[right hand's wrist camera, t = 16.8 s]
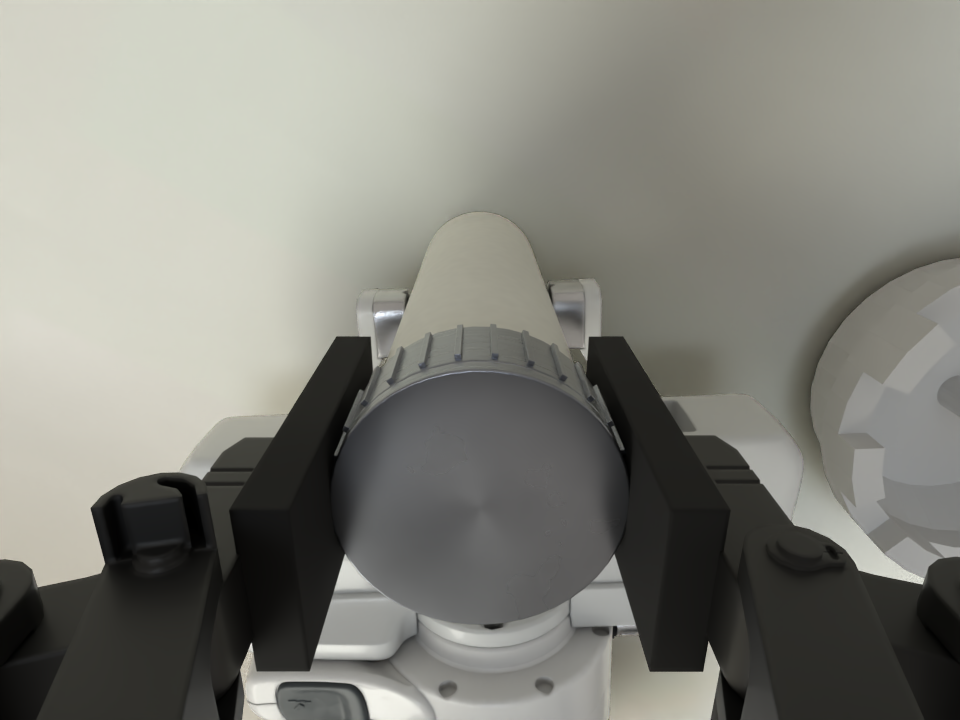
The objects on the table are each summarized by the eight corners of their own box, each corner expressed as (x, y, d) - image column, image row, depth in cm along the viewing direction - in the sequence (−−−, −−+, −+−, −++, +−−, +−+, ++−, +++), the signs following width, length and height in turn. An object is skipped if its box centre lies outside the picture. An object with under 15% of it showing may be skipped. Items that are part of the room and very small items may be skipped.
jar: (402, 268, 26) (293, 495, 11) (477, 187, 25) (475, 314, 10) (480, 339, 27) (483, 636, 12) (557, 265, 26) (667, 490, 11)
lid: (294, 454, 12) (260, 518, 10) (468, 263, 11) (466, 296, 9) (488, 593, 14) (489, 673, 12) (666, 437, 12) (700, 498, 10)
